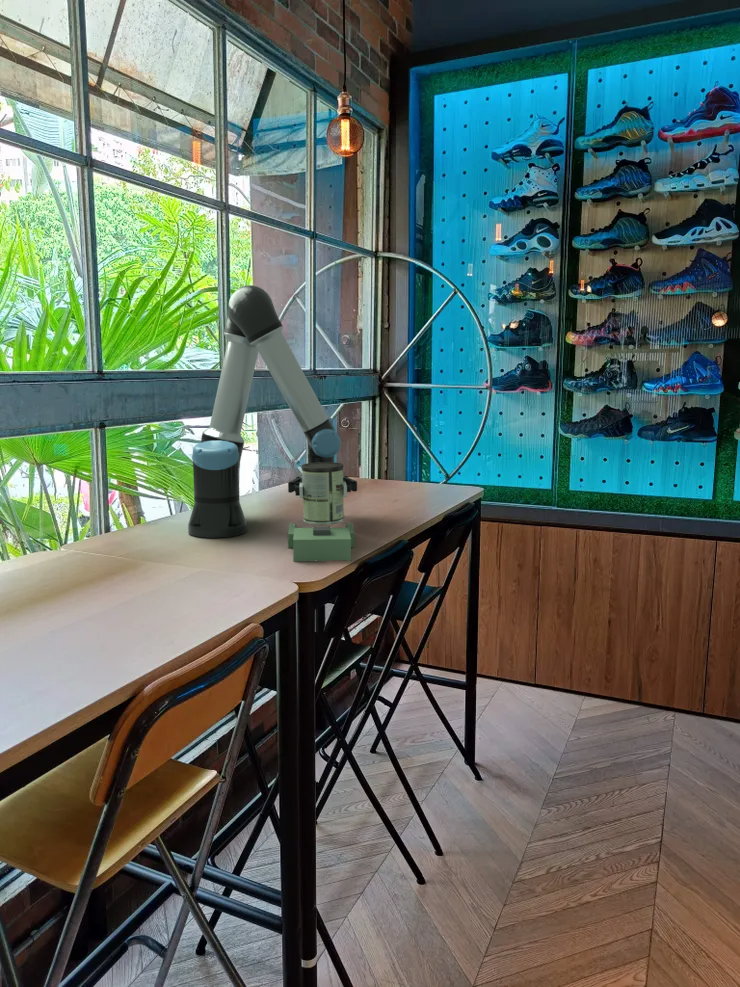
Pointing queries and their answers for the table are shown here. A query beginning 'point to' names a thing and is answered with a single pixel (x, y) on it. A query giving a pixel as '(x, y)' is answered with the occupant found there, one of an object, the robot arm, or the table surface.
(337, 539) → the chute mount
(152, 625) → the table surface
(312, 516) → the coffee can
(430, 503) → the table surface
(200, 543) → the table surface
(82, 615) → the table surface
